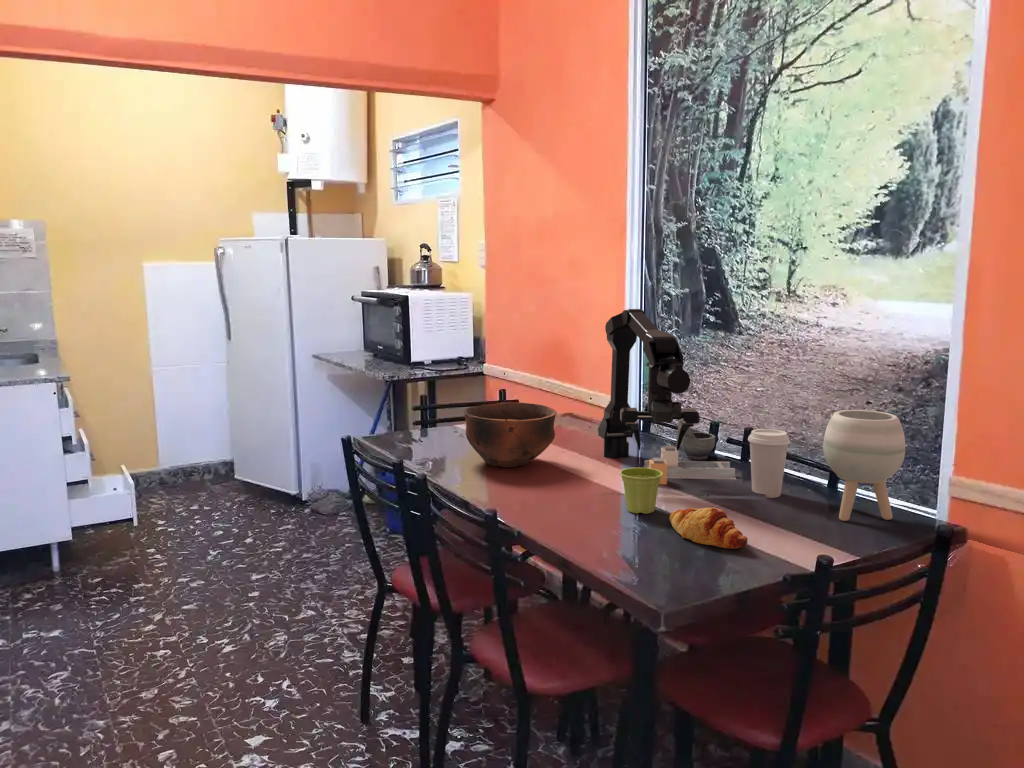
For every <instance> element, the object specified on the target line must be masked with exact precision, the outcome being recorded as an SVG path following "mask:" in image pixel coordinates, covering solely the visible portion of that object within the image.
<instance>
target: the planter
mask: <svg viewBox="0 0 1024 768" xmlns="http://www.w3.org/2000/svg"><path fill="white" fill-rule="evenodd" d="M822 449H823V451H822V452H823V456H824V459H825V461H826V463H827V465H828V467H829V468H830V469H831V470H832V471H833V472H834V474H835V475H836V476H837V477H838V478H840V479H842V480H845V482H844V487H843V492H842V498H841V502H840V508H839V514H838V519H839V520H840V521H842V522H848V521H850V517H851V514H852V511H853V508H854V504H855V499H856V495H857V491H858V487H859V483H860V484H862V483H863V484H872V486H873V489H874V494H875V497H876V502H877V505H878V508H879V512H880V517H882V519H883V520H885V521H889V520H892V519H893V511H892V508H891V507H892V506H891V504H890V502H891V501H890V499H889V493H888V488H887V482H886V481H888V479H890V478H891V477H892V476H894V475H895V474H897V472H898V471H899V470H900V468H901V467H902V465H903V463H904V460H905V455H906V439H905V433H904V429H903V425H902V423H901V420H900V419H899V418H898V416H897V415H895V414H892V413H889V412H885V411H878V410H869V409H868V410H867V409H843V410H837V411H835V412H834V413H833V414H832V416H831V417H830V418H829V421H828V423H827V426H826V429H825V432H824V436H823V445H822Z"/></svg>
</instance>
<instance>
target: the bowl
mask: <svg viewBox="0 0 1024 768" xmlns="http://www.w3.org/2000/svg"><path fill="white" fill-rule="evenodd" d="M462 413H463V415H464V418H465V419H464V420H465V436H466V439H467V440H468V443H469V445H470V446H471V447H472V449H473V450H474V451H475V452H476V453H477V454H478V455H479V457H481V458H482V460H483V461H484V462H485V463H486V465H489V466H493V467H502V468H514V467H519V466H523V465H526V464H528V463H529V462H531V461H533V460H535V459H536V458H537V457H538V456H540V455H541V454H542V453H543V452H544V451H545V450H546V449H547V448H549V446H550V445H551V444H552V442H553V441H554V439H555V435H556V431H555V422H556V421H555V419H556V417H557V414H558V412H557V411H556V410H555V409H553V408H552V407H549V406H547V405H544V404H537V403H530V402H520V401H519V402H517V401H516V402H513V401H509V402H500V403H499V402H497V403H490V404H489V403H488V404H480V405H475V406H470V407H467V408H465V409H464V411H463V412H462Z"/></svg>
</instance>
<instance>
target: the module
mask: <svg viewBox="0 0 1024 768" xmlns="http://www.w3.org/2000/svg"><path fill="white" fill-rule="evenodd" d="M648 460H649V468H651V469H656V470H659V471H661V472H662V473H663V475H662V477H661V479H660V482H659V485H668V478H667V462H666V460H663V458H661V457H652V459H648Z"/></svg>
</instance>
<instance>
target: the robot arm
mask: <svg viewBox="0 0 1024 768" xmlns="http://www.w3.org/2000/svg"><path fill="white" fill-rule="evenodd" d="M604 329H605V333H606V341H607V342H608V344H609V346H610V347H611V349H612V353H611V354H612V355H611V375H610V377H611V378H610V379H611V380H610V401H609V402H608V404H607V405H606V407H605V408H604V410H603V418H602V419H601V422H600V424H599V426H598V428H597V432H598V437H600V438H601V439H603V457H604V458H610V459H622V458H623V459H624V458H629V455H630V454H629V451H630V442H629V441H628V438H633V436H634V438H635V442H636V445H637V449H638V450H639V451H641V447H642V446H641V445H642V444H641V434H640V424H639V421H638V420H651V421H652V423H656V424H658V423H666V424H671V423H673V420H678V421H679V422H678V421H677V432H676V442H675V448H676V450H677V451H679V450H680V448H681V446H680V445H681V442H682V439H683V437H684V435H685V433H686V431H687V430H688V428H689V427H690V428H693V427H694V426H695V425H696V424H700V413H699V412H698V411H697V410H696V408H693V407H692V408H691V407H690V408H687V407H686V408H685V407H682V402H681V401H673V400H672V399H673V398H672V396H673V394H677V395H678V394H683V393H684V392H687V390H688V389H689V387H690V385H691V378H690V375H689V373H688V371H686V370H684V367H683V366H684V364H685V363H684V359H685V357H684V355H683V353H682V349H681V347H680V345H679V342H678V340H677V338H676V336H674V335H672V334H671V333H669V332H666V331H663V330H660V329H659V328H658V327H657V326H656V325H655V324H654V323H653V322H652V320H650V319H649V317H647V315H646V314H645V311H644V310H643V309H641V308H627V309H623V311H621V313H618V314H616V315H614V316H612V317H610V318H609V319H608V320H607V321H606V323H605V327H604ZM637 337H638V338H639V340H640V341H641V342H642V343H643V348H642V351H643V353H644V355H645V357H646V359H647V363H646V364H645V365H646V367H648V375H647V376H648V379H647V380H648V383H647V411H645V410H644V411H643V410H641V411H640V410H638V409H637V407H631V405H630V404H629V387H630V386H629V385H630V384H629V383H630V380H629V379H630V362H631V361H630V360H631V355H630V354H631V350H632V348H633V347H634V345H635V344H636V343H637Z"/></svg>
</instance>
